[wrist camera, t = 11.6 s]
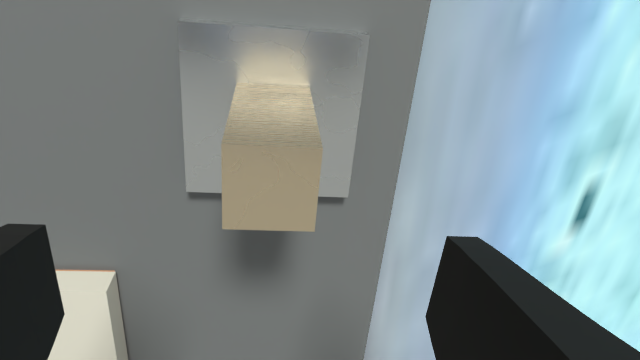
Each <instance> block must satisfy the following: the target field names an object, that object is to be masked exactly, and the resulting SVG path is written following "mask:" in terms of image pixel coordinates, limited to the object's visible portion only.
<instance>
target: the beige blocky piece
mask: <svg viewBox="0 0 640 360" xmlns="http://www.w3.org/2000/svg"><path fill="white" fill-rule="evenodd" d="M369 38H370V35H369V34H368V33H367V32H357V31H344V30H331V29H318V28H305V27H292V26H279V25H266V24H253V23H240V22H227V21H214V20H201V19H188V18H180V19H179V20H178V41H179V61H180V80H181V100H182V120H183V139H184V159H185V179H186V192H205V193H222V229H232V230H269V231H307V232H315V223H316V213H317V203H318V196H319V197H347V198H348V194H349V187H350V179H351V172H352V164H353V157H354V150H355V142H356V135H357V127H358V120H359V112H360V105H361V98H362V90H363V83H364V75H365V68H366V61H367V53H368V46H369Z"/></svg>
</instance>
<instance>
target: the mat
mask: <svg viewBox="0 0 640 360" xmlns="http://www.w3.org/2000/svg"><path fill="white" fill-rule="evenodd" d="M430 2H431V0H0V227H1V226H4V225H6V224H41V225H46V229H47V234H48V238H49V243H50V248H51V252H52V257H53V262H54V266H55V270H114V271H115V272H116V278H117V285H118V292H119V299H120V306H121V313H122V320H123V327H124V334H125V341H126V348H127V355H128V360H363V359H364V353H365V348H366V343H367V337H368V332H369V327H370V321H371V316H372V311H373V305H374V300H375V295H376V289H377V284H378V279H379V273H380V268H381V263H382V257H383V252H384V247H385V241H386V236H387V231H388V226H389V220H390V215H391V210H392V204H393V199H394V194H395V188H396V183H397V178H398V172H399V167H400V162H401V156H402V151H403V146H404V140H405V135H406V130H407V124H408V119H409V114H410V109H411V103H412V98H413V93H414V87H415V82H416V77H417V71H418V66H419V61H420V55H421V50H422V45H423V39H424V34H425V29H426V23H427V18H428V13H429V7H430ZM180 18H188V19H201V20H214V21H227V22H240V23H253V24H266V25H279V26H292V27H305V28H318V29H331V30H344V31H357V32H367V33H368V34H369V35H370V38H369V46H368V53H367V61H366V68H365V75H364V83H363V90H362V98H361V105H360V112H359V120H358V127H357V135H356V142H355V150H354V157H353V164H352V172H351V179H350V187H349V194H348V198H347V197H319V196H318V203H317V213H316V223H315V232H307V231H269V230H232V229H222V193H205V192H186V179H185V159H184V139H183V120H182V100H181V80H180V61H179V41H178V20H179V19H180Z"/></svg>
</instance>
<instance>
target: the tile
mask: <svg viewBox="0 0 640 360" xmlns="http://www.w3.org/2000/svg"><path fill="white" fill-rule="evenodd" d="M55 271H56V276H57V280H58V285H59V290H60V294H61V299H62V304H63V308H64V313H65V315H64V317H63V320H62V323H61V326H60V328H59V331H58V334H57V337H56V339H55V342H54V345H53V347H52V350H51V352H50V355H49V357H48V360H128V355H127V348H126V341H125V334H124V327H123V320H122V313H121V306H120V299H119V292H118V285H117V278H116V272H115V271H114V270H55Z"/></svg>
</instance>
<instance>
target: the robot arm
mask: <svg viewBox="0 0 640 360" xmlns="http://www.w3.org/2000/svg"><path fill="white" fill-rule="evenodd" d="M64 315H65V313H64V308H63V304H62V299H61V294H60V290H59V285H58V280H57V276H56V271H55V266H54V262H53V257H52V252H51V248H50V243H49V238H48V234H47V229H46V225H41V224H6V225H4V226H1V227H0V360H48V357H49V355H50V352H51V350H52V347H53V345H54V342H55V339H56V337H57V334H58V331H59V328H60V326H61V323H62V320H63V317H64ZM426 321H427V325H428V329H429V334H430V338H431V342H432V346H433V350H434V354H435V357H436V360H640V352H639V351H637V350H636V349H634V348H633V347H631V346H630V345H628V344H627V343H625V342H624V341H622V340H621V339H619V338H618V337H617V336H615V335H614V334H612V333H611V332H609V331H608V330H606V329H605V328H603V327H602V326H600V325H599V324H597V323H596V322H595V321H593V320H592V319H590V318H589V317H587V316H586V315H585V314H583V313H582V312H580V311H579V310H578V309H576V308H575V307H573V306H572V305H571V304H569V303H568V302H567V301H565V300H564V299H563V298H561V297H560V296H558V295H557V294H556V293H554V292H553V291H552V290H550V289H549V288H548V287H546V286H545V285H544V284H542V283H541V282H540V281H538V280H537V279H535V278H534V277H533V276H531V275H530V274H529V273H527V272H526V271H525V270H523V269H522V268H521V267H519V266H518V265H517V264H515V263H514V262H513V261H511V260H510V259H509V258H507V257H506V256H505V255H503V254H502V253H500V252H499V251H498V250H496V249H495V248H493V247H492V246H491V245H489V244H488V243H486V242H484V241H483V240H481V239H480V238H478V237H457V236H447V238H446V241H445V245H444V249H443V253H442V257H441V260H440V264H439V268H438V272H437V275H436V279H435V283H434V287H433V291H432V294H431V298H430V302H429V306H428V309H427V313H426Z"/></svg>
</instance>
